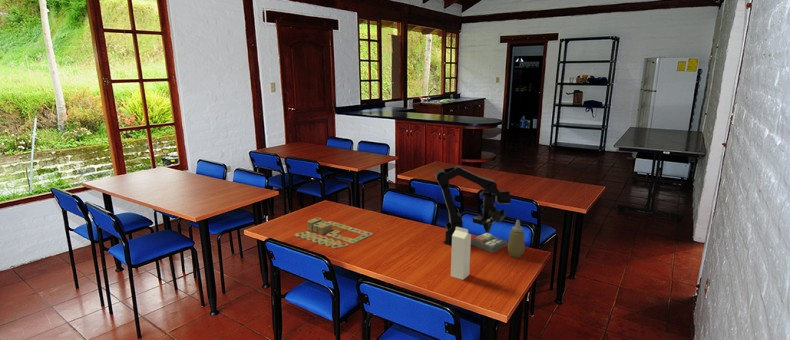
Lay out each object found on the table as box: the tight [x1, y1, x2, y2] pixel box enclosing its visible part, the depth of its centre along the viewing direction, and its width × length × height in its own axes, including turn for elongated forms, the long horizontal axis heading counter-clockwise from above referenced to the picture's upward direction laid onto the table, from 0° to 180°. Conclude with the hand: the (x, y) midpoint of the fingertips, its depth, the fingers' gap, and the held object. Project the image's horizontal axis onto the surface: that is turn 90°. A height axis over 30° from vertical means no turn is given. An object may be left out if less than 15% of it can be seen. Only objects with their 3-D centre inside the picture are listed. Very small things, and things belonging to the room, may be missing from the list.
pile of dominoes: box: [294, 217, 374, 250], centre depth 228 cm, size 35×27×6 cm
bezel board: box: [471, 234, 508, 254], centre depth 215 cm, size 12×13×3 cm
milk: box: [450, 227, 472, 281], centre depth 181 cm, size 6×6×22 cm
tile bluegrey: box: [492, 239, 503, 244], centre depth 215 cm, size 4×4×2 cm
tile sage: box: [481, 232, 494, 240], centre depth 219 cm, size 4×4×2 cm
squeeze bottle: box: [506, 219, 526, 259], centre depth 202 cm, size 8×8×18 cm
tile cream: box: [485, 241, 496, 246], centre depth 211 cm, size 4×4×2 cm
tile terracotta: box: [474, 234, 487, 243], centre depth 215 cm, size 4×4×2 cm
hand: (487, 232), depth 218 cm, fingers closed
